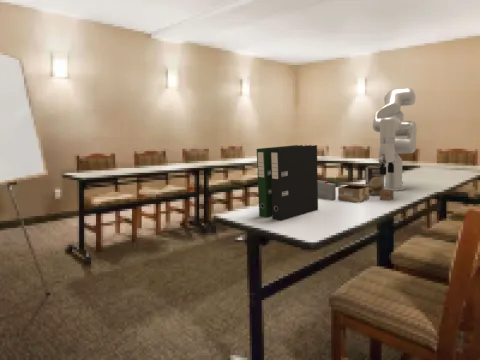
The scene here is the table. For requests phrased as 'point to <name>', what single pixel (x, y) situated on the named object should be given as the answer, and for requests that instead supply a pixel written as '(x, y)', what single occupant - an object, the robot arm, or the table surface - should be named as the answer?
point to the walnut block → (386, 194)
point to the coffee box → (374, 180)
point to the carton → (353, 193)
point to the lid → (355, 184)
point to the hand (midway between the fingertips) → (386, 173)
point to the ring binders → (287, 181)
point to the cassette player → (326, 190)
